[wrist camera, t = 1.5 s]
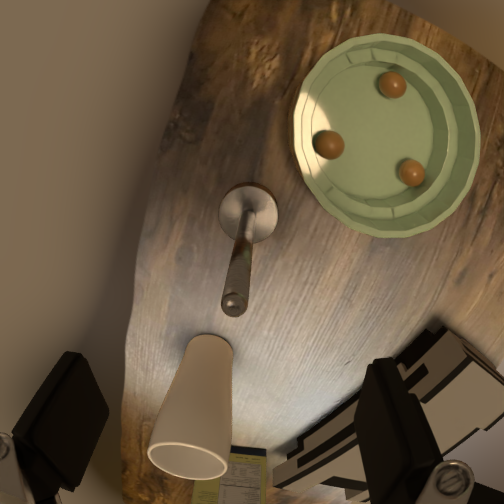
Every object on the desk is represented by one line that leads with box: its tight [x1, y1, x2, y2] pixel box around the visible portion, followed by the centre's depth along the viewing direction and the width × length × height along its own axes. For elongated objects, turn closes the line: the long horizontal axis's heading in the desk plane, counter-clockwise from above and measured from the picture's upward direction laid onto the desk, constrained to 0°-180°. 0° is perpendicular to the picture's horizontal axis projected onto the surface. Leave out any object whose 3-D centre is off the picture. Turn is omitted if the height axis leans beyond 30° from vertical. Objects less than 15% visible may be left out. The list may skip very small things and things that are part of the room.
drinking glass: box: [147, 334, 233, 480], centre depth 28 cm, size 7×7×15 cm
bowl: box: [287, 33, 481, 238], centre depth 22 cm, size 15×15×6 cm
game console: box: [273, 326, 504, 502], centre depth 36 cm, size 21×32×8 cm, turn 146°
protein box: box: [191, 446, 266, 504], centre depth 39 cm, size 10×16×16 cm
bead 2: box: [379, 71, 407, 99], centre depth 22 cm, size 2×2×2 cm
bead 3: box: [399, 159, 425, 187], centre depth 24 cm, size 2×2×2 cm
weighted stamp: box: [218, 182, 279, 317], centre depth 21 cm, size 5×5×16 cm
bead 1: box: [315, 131, 345, 160], centre depth 24 cm, size 2×2×2 cm
